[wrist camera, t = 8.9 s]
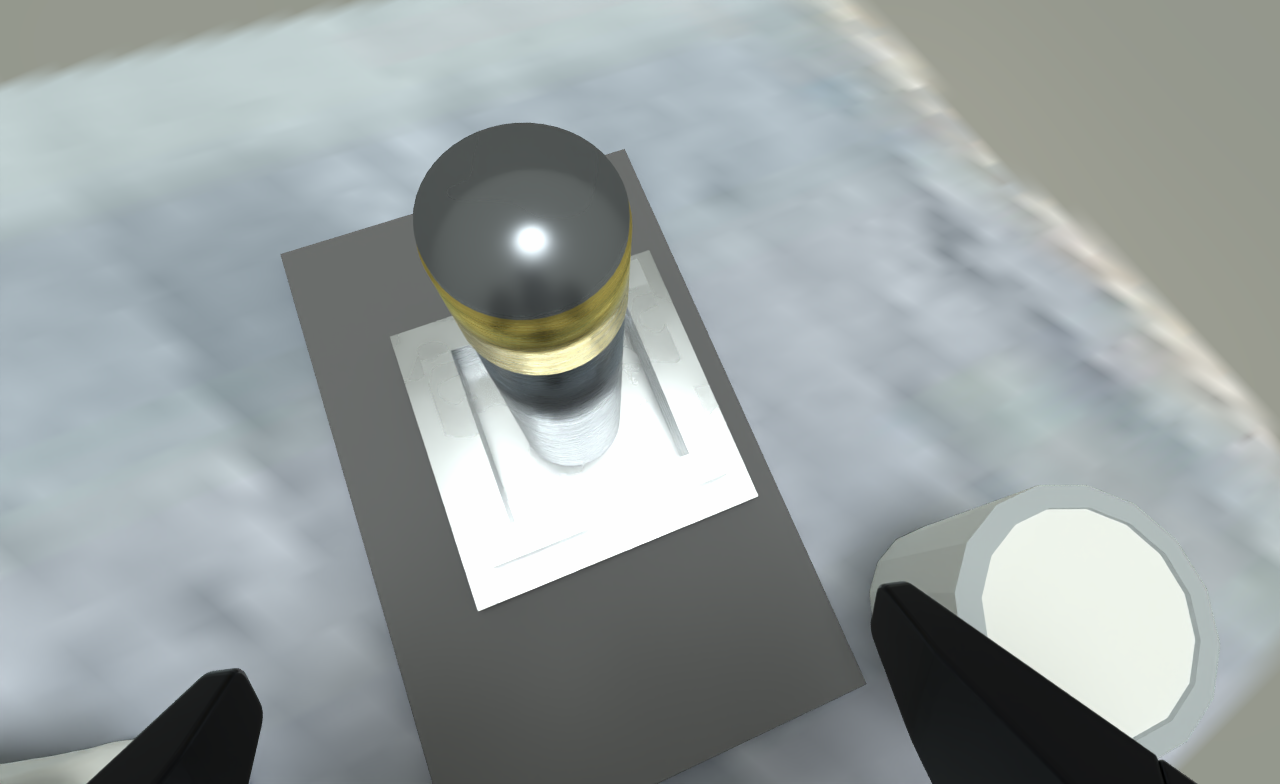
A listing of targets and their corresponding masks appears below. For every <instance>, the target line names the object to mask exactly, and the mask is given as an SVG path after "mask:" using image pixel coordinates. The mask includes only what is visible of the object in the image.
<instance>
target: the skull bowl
mask: <svg viewBox="0 0 1280 784" xmlns="http://www.w3.org/2000/svg"><path fill="white" fill-rule="evenodd" d="M133 740H134V739H133ZM133 740H124V741H117V742H111V743H107V744H104V745H101V746H96V747H93V748H89V749H84V750H78V751H73V752H69V753H64V754H59V755H54V756H48V757H43V758H35V759H29V760H23V761H18V762H12V763H5V764H0V784H86V783H88V782H89V781H90V780H91V779H92V778H93V777H94V776H95V775H96V774H97V773H98V772H99V771H100V770H102V769H103V768H104V767H105V766H106V765H107V764H108V763H109V762H110V761H111V760H112V759H113V758H114V757H116V756H117V755H118V754H119V753H120V752H121V751H122V750H123V749H124V748H125V747H126V746H127V745H128V744H130V743H131V742H132V741H133Z"/></svg>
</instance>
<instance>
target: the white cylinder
mask: <svg viewBox="0 0 1280 784" xmlns="http://www.w3.org/2000/svg"><path fill="white" fill-rule="evenodd" d="M899 581H906V582H909V583H911V584H912V585H914V586H915V587H917V588H918V589H920V590H921V591H923V592H924V593H925V594H927V595H928V596H930V597H931V598H933V599H934V600H935V601H937V602H938V603H940V604H941V605H943V606H944V607H945V608H947V609H948V610H950V611H951V612H953V613H954V614H955V615H957V616H958V617H960V618H961V619H963V620H964V621H965V622H967V623H968V624H970V625H971V626H973V627H974V628H975V629H977V630H978V631H980V632H981V633H983V634H984V635H985V636H987V637H988V638H990V639H991V640H993V641H994V642H995V643H997V644H998V645H1000V646H1001V647H1003V648H1004V649H1005V650H1007V651H1008V652H1010V653H1011V654H1013V655H1014V656H1015V657H1017V658H1018V659H1020V660H1021V661H1023V662H1024V663H1025V664H1027V665H1028V666H1030V667H1031V668H1033V669H1034V670H1035V671H1037V672H1038V673H1040V674H1041V675H1043V676H1044V677H1045V678H1047V679H1048V680H1050V681H1051V682H1053V683H1054V684H1055V685H1057V686H1058V687H1060V688H1061V689H1062V690H1064V691H1065V692H1067V693H1068V694H1070V695H1071V696H1072V697H1074V698H1075V699H1077V700H1078V701H1080V702H1081V703H1082V704H1084V705H1085V706H1087V707H1088V708H1090V709H1091V710H1092V711H1094V712H1095V713H1097V714H1098V715H1100V716H1101V717H1102V718H1104V719H1105V720H1107V721H1108V722H1110V723H1111V724H1112V725H1114V726H1115V727H1117V728H1118V729H1120V730H1121V731H1122V732H1124V733H1125V734H1127V735H1128V736H1130V737H1131V738H1132V739H1134V740H1135V741H1137V742H1138V743H1140V744H1141V745H1142V746H1144V747H1145V748H1147V749H1148V750H1150V751H1151V752H1152V753H1154V754H1155V755H1156V756H1157V758H1160V757H1162V756H1163V755H1165V754H1167V753H1169V752H1170V751H1172V750H1174V749H1176V748H1177V747H1179V746H1181V745H1182V744H1184V743H1186V742H1187V741H1188V739H1189V737H1190V736H1191V734H1192V733H1193V731H1194V729H1195V728H1196V726H1197V724H1198V723H1199V721H1200V720H1201V718H1202V716H1203V715H1204V713H1205V711H1206V710H1207V708H1208V707H1209V705H1210V703H1211V702H1212V700H1213V698H1214V691H1215V683H1216V674H1217V666H1218V658H1219V650H1220V642H1219V637H1218V633H1217V629H1216V625H1215V621H1214V617H1213V612H1212V608H1211V604H1210V600H1209V596H1208V592H1207V588H1206V587H1205V585H1204V584H1203V582H1202V580H1201V579H1200V577H1199V575H1198V574H1197V572H1196V571H1195V569H1194V567H1193V566H1192V564H1191V563H1190V561H1189V559H1188V558H1187V556H1186V554H1185V553H1184V551H1183V550H1182V548H1181V546H1180V545H1179V543H1178V541H1177V540H1176V539H1175V538H1174V537H1172V536H1171V535H1170V534H1169V533H1168V532H1167V531H1165V530H1164V529H1163V528H1162V527H1161V526H1160V525H1158V524H1157V523H1156V522H1155V521H1154V520H1153V519H1151V518H1150V517H1149V516H1148V515H1147V514H1146V513H1144V512H1143V511H1142V510H1141V509H1140V508H1139V507H1137V506H1136V505H1135V504H1133V503H1130V502H1128V501H1125V500H1123V499H1120V498H1118V497H1115V496H1113V495H1110V494H1108V493H1105V492H1103V491H1100V490H1098V489H1095V488H1093V487H1090V486H1088V485H1037V486H1035V487H1032V488H1029V489H1026V490H1024V491H1021V492H1018V493H1015V494H1013V495H1010V496H1007V497H1004V498H1002V499H999V500H996V501H993V502H991V503H988V504H985V505H983V506H980V507H977V508H974V509H972V510H969V511H966V512H963V513H961V514H958V515H955V516H952V517H950V518H947V519H944V520H941V521H939V522H936V523H933V524H930V525H928V526H925V527H922V528H920V529H918V530H916V531H914V532H911V533H909V534H907V535H905V536H903V537H901V538H899V539H896V541H895V542H894V543H893V544H892V545H891V547H890V548H889V549H888V550H887V551H886V553H885V554H884V555H883V556H882V558H881V559H880V560H879V561H878V563H877V567H876V570H875V574H874V577H873V581H872V584H871V588H870V592H869V593H870V602H871V612H872V613H873V608H874V603H875V597H876V592H877V589H878V587H879V586H880V585H881V584H884V583H891V582H899Z"/></svg>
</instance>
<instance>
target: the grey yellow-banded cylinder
mask: <svg viewBox="0 0 1280 784" xmlns="http://www.w3.org/2000/svg"><path fill="white" fill-rule="evenodd" d="M413 229H414V236H415V240H416V245H417V249H418V253H419V257H420V259H421V262H422V264H423V267H424V269H425V271H426V272H427V274H428V276H429V277H430V279H431V281H432V282H433V284H434V286H435V288H436V289H437V291H438V293H439V294H440V296H441V298H442V299H443V301H444V303H445V304H446V306H447V308H448V310H449V311H450V313H451V315H452V316H453V318H454V320H455V321H456V323H457V325H458V327H459V328H460V330H461V332H462V333H463V335H464V337H465V338H466V340H467V341H468V342H469V344H470V345H471V346H472V347H473V348H474V349H475V351H476V353H477V354H478V356H479V358H480V359H481V361H482V363H483V365H484V366H485V368H486V370H487V372H488V373H489V375H490V377H491V379H492V380H493V382H494V384H495V385H496V387H497V389H498V391H499V392H500V394H501V396H502V398H503V399H504V401H505V403H506V404H507V406H508V408H509V410H510V411H511V413H512V415H513V417H514V418H515V420H516V422H517V424H518V425H519V427H520V429H521V430H522V432H523V434H524V436H525V437H526V439H527V441H528V443H529V444H530V446H531V447H532V448H533V450H534V451H535V452H536V453H537V454H539V455H540V456H541V457H543V458H544V459H546V460H548V461H550V462H552V463H555V464H559V465H565V466H576V465H582V464H585V463H588V462H590V461H593V460H595V459H596V458H598V457H599V456H601V455H602V454H603V453H604V452H605V451H606V450H607V449H608V448H609V447H610V446H611V444H612V443H613V441H614V439H615V437H616V435H617V432H618V429H619V423H620V406H621V386H622V366H623V345H624V325H625V314H626V310H627V305H628V294H629V277H630V260H631V242H632V214H631V209H630V204H629V201H628V196H627V192H626V189H625V187H624V184H623V181H622V179H621V177H620V175H619V174H618V172H617V170H616V169H615V167H614V166H613V164H612V163H611V162H610V160H609V159H608V158H607V157H606V156H605V155H604V154H603V153H602V152H601V151H600V150H599V149H597V148H596V147H595V146H594V145H592V144H591V143H590V142H588V141H586V140H585V139H583V138H582V137H580V136H578V135H576V134H574V133H571V132H569V131H567V130H564V129H561V128H558V127H554V126H549V125H544V124H536V123H512V124H503V125H499V126H494V127H490V128H487V129H484V130H481V131H479V132H476V133H474V134H472V135H470V136H468V137H466V138H464V139H462V140H461V141H459V142H458V143H456V144H454V145H453V146H452V147H451V148H449V149H448V150H447V151H446V152H444V153H443V154H442V155H441V156H440V157H439V158H438V159H437V161H436V162H435V163H434V164H433V165H432V167H431V168H430V169H429V171H428V172H427V174H426V175H425V177H424V179H423V181H422V183H421V185H420V187H419V190H418V193H417V195H416V199H415V204H414V209H413Z"/></svg>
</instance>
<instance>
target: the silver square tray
mask: <svg viewBox="0 0 1280 784" xmlns="http://www.w3.org/2000/svg"><path fill="white" fill-rule="evenodd" d="M390 339H391V342H392V345H393V349H394V352H395V355H396V358H397V361H398V364H399V367H400V370H401V373H402V376H403V380H404V383H405V386H406V389H407V392H408V395H409V398H410V401H411V404H412V407H413V411H414V414H415V417H416V420H417V423H418V426H419V429H420V432H421V435H422V439H423V442H424V445H425V448H426V451H427V454H428V457H429V460H430V463H431V466H432V470H433V473H434V476H435V479H436V482H437V485H438V488H439V491H440V494H441V497H442V501H443V504H444V507H445V510H446V513H447V516H448V519H449V522H450V525H451V528H452V532H453V535H454V538H455V541H456V544H457V547H458V550H459V553H460V556H461V559H462V563H463V566H464V569H465V572H466V575H467V578H468V581H469V584H470V587H471V591H472V594H473V597H474V600H475V603H476V606H477V609H478V611H480V610H483V609H486V608H488V607H491V606H493V605H496V604H498V603H501V602H503V601H505V600H508V599H510V598H513V597H515V596H518V595H520V594H522V593H525V592H527V591H530V590H532V589H535V588H537V587H539V586H542V585H544V584H547V583H549V582H552V581H554V580H556V579H559V578H561V577H564V576H566V575H569V574H571V573H574V572H576V571H578V570H581V569H583V568H586V567H588V566H591V565H593V564H595V563H598V562H600V561H603V560H605V559H608V558H610V557H612V556H615V555H617V554H620V553H622V552H625V551H627V550H630V549H632V548H634V547H637V546H639V545H642V544H644V543H647V542H649V541H651V540H654V539H656V538H659V537H661V536H664V535H666V534H668V533H671V532H673V531H676V530H678V529H681V528H683V527H685V526H688V525H690V524H693V523H695V522H698V521H700V520H703V519H705V518H707V517H710V516H712V515H715V514H717V513H720V512H722V511H724V510H727V509H729V508H732V507H734V506H737V505H739V504H741V503H744V502H746V501H749V500H751V499H754V498H755V497H757V496H758V494H757V492H756V490H755V487H754V485H753V483H752V481H751V478H750V476H749V474H748V472H747V469H746V467H745V465H744V463H743V460H742V458H741V456H740V454H739V451H738V449H737V447H736V445H735V442H734V440H733V438H732V436H731V433H730V431H729V429H728V427H727V424H726V422H725V420H724V418H723V415H722V413H721V411H720V409H719V406H718V404H717V402H716V400H715V397H714V395H713V393H712V391H711V388H710V386H709V384H708V382H707V379H706V377H705V375H704V372H703V370H702V368H701V366H700V363H699V361H698V359H697V357H696V354H695V352H694V350H693V348H692V345H691V343H690V341H689V339H688V336H687V334H686V332H685V330H684V327H683V325H682V323H681V321H680V318H679V316H678V314H677V312H676V309H675V307H674V305H673V303H672V300H671V298H670V296H669V294H668V291H667V289H666V287H665V285H664V282H663V280H662V278H661V276H660V273H659V271H658V269H657V267H656V264H655V262H654V260H653V257H652V255H651V253H650V251H649V250H648V251H645V252H642V253H639V254H636V255H633V256H631V260H630V277H629V294H628V305H627V310H626V314H625V325H624V345H623V366H622V386H621V406H620V423H619V429H618V432H617V435H616V437H615V439H614V441H613V443H612V444H611V446H610V447H609V448H608V449H607V450H606V451H605V452H604V453H603V454H602V455H601V456H599V457H598V458H596V459H595V460H593V461H590V462H588V463H585V464H582V465H576V466H565V465H559V464H555V463H552V462H550V461H548V460H546V459H544V458H543V457H541V456H540V455H539V454H537V453H536V452H535V451H534V450H533V448H532V447H531V446H530V444H529V443H528V441H527V439H526V437H525V436H524V434H523V432H522V430H521V429H520V427H519V425H518V424H517V422H516V420H515V418H514V417H513V415H512V413H511V411H510V410H509V408H508V406H507V404H506V403H505V401H504V399H503V398H502V396H501V394H500V392H499V391H498V389H497V387H496V385H495V384H494V382H493V380H492V379H491V377H490V375H489V373H488V372H487V370H486V368H485V366H484V365H483V363H482V361H481V359H480V358H479V356H478V354H477V353H476V351H475V349H474V348H473V347H472V346H471V345H470V344H469V342H468V341H467V340H466V338H465V337H464V335H463V333H462V332H461V330H460V328H459V327H458V325H457V323H456V321H455V320H454V318H453V316H450V317H447V318H444V319H441V320H438V321H435V322H432V323H429V324H426V325H423V326H420V327H417V328H414V329H411V330H408V331H405V332H402V333H399V334H396V335H393V336H390Z"/></svg>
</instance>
